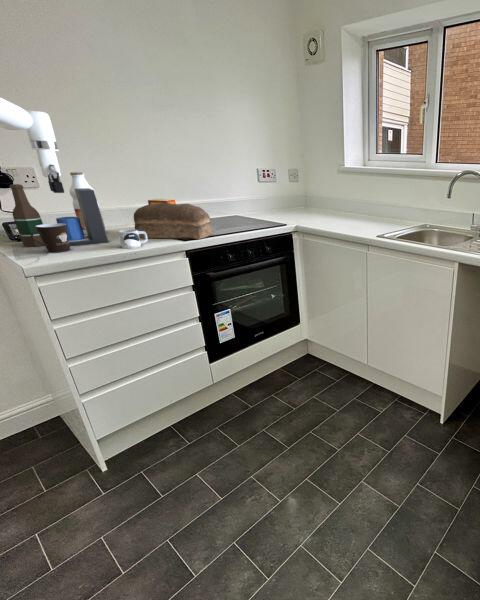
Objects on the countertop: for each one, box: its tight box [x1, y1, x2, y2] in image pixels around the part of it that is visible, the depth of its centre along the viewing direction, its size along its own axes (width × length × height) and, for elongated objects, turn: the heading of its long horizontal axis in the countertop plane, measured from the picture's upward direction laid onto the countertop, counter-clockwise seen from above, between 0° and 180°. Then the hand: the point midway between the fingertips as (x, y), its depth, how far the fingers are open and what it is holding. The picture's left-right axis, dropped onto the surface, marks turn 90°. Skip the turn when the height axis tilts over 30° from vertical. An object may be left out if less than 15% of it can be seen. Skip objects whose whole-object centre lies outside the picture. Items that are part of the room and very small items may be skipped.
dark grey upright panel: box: [69, 188, 109, 247], centre depth 148 cm, size 16×12×22 cm
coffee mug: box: [31, 222, 71, 254], centre depth 135 cm, size 12×9×10 cm
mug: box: [117, 228, 149, 249], centre depth 148 cm, size 10×7×7 cm
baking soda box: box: [147, 198, 177, 205], centre depth 179 cm, size 10×6×16 cm
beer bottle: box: [9, 183, 46, 248], centre depth 141 cm, size 8×8×24 cm
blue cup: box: [55, 216, 85, 241], centre depth 148 cm, size 7×7×9 cm
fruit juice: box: [68, 171, 107, 236], centre depth 165 cm, size 9×9×28 cm
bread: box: [133, 203, 214, 240], centre depth 167 cm, size 15×32×16 cm, turn 93°
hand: (57, 191), depth 143 cm, fingers open, 9 cm apart
